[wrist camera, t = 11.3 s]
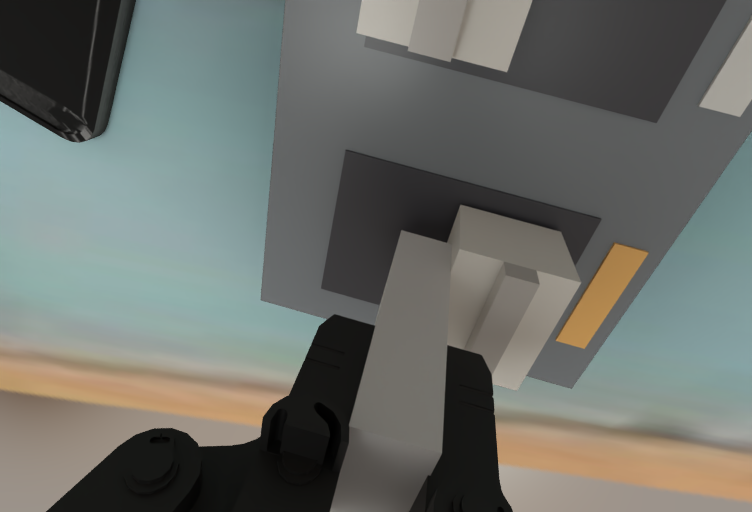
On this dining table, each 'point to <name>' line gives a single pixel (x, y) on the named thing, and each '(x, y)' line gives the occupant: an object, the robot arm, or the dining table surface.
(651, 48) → the switch board
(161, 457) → the robot arm
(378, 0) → the switch tab
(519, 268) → the switch tab
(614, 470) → the dining table surface
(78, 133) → the phone
